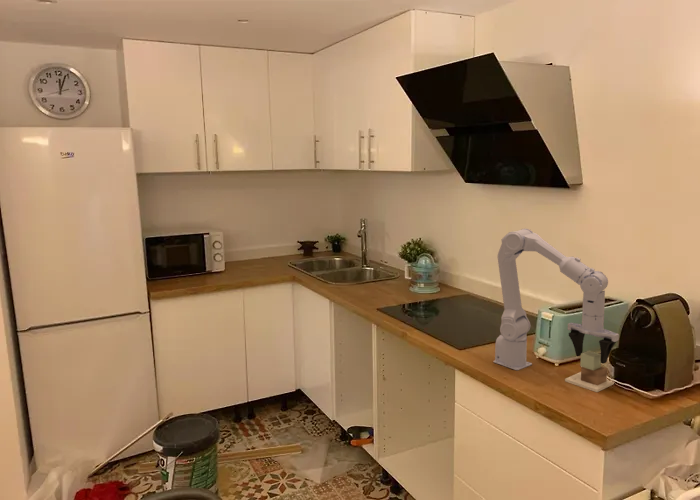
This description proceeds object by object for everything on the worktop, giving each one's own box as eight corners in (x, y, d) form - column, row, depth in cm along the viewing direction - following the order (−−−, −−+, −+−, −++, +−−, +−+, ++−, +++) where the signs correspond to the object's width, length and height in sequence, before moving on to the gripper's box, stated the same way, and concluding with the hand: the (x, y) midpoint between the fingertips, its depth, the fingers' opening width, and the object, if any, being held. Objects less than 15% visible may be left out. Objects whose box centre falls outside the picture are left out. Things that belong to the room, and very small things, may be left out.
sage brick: (580, 366, 155) (580, 353, 155) (587, 363, 158) (588, 350, 157) (593, 370, 152) (593, 357, 152) (600, 367, 155) (601, 354, 154)
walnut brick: (580, 380, 155) (581, 367, 155) (590, 375, 158) (590, 363, 158) (596, 385, 151) (597, 372, 151) (606, 381, 154) (607, 368, 154)
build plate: (564, 381, 157) (564, 378, 157) (583, 372, 163) (583, 369, 163) (597, 392, 149) (597, 388, 149) (615, 383, 155) (615, 379, 154)
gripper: (562, 311, 156) (560, 355, 158) (610, 322, 144) (607, 369, 147) (575, 307, 160) (574, 350, 162) (623, 317, 148) (621, 363, 151)
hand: (591, 358), depth 155 cm, fingers open, 7 cm apart
